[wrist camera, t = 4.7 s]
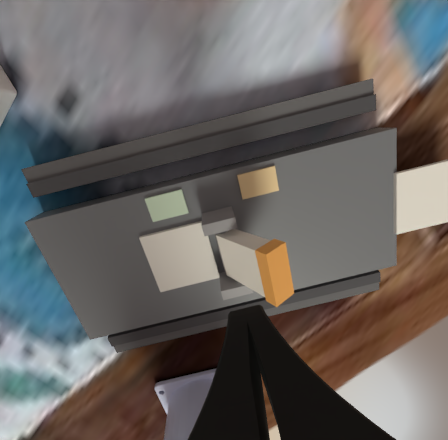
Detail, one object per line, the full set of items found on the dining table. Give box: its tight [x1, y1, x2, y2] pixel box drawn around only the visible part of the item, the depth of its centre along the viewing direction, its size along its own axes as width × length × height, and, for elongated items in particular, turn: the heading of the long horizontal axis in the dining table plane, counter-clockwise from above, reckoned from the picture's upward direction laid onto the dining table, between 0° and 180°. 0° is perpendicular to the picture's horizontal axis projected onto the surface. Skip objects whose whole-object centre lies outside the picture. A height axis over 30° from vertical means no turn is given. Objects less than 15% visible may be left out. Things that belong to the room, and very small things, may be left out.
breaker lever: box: [215, 229, 294, 307], centre depth 15 cm, size 3×1×5 cm
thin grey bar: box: [108, 270, 380, 353], centre depth 21 cm, size 2×22×2 cm, turn 104°
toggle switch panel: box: [25, 128, 448, 339], centre depth 18 cm, size 10×28×4 cm, turn 103°
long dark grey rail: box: [21, 79, 376, 198], centre depth 16 cm, size 2×22×2 cm, turn 103°
